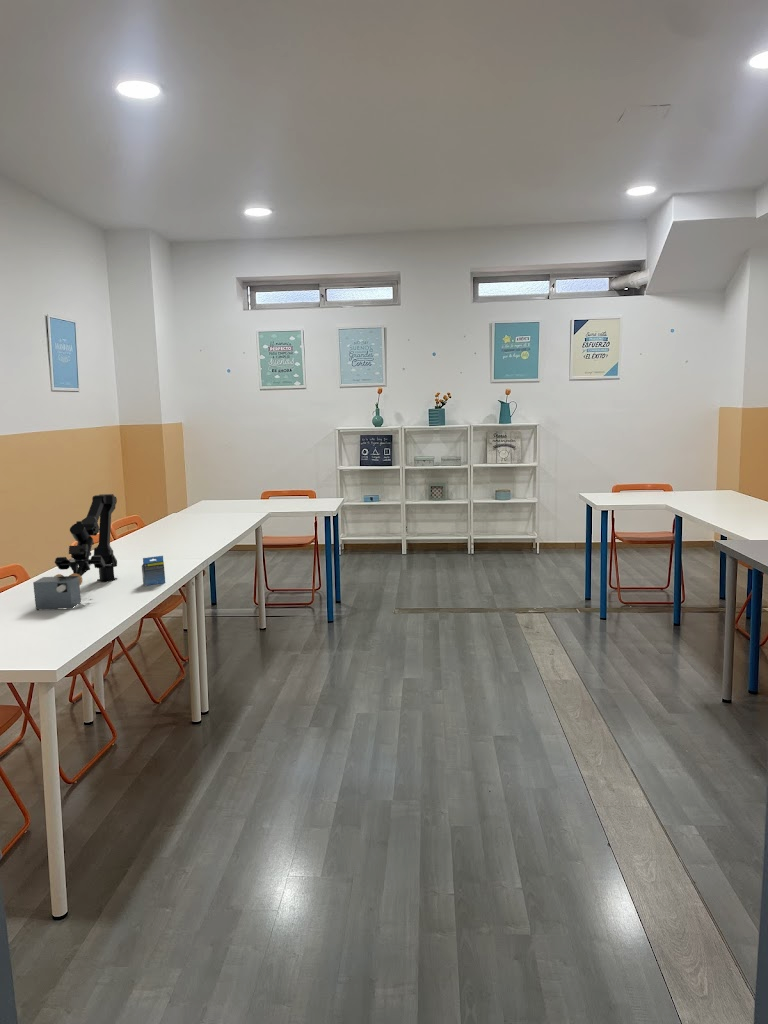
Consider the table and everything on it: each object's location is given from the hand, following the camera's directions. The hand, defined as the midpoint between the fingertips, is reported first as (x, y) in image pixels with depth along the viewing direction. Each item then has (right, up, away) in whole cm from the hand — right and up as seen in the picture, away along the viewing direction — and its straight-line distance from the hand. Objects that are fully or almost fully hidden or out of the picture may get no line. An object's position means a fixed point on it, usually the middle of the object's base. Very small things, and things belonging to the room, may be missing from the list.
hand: (75, 580), depth 302 cm
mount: (-4, -9, -5) cm, 11 cm away
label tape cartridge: (+24, -4, +26) cm, 35 cm away
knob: (0, -4, -8) cm, 8 cm away
